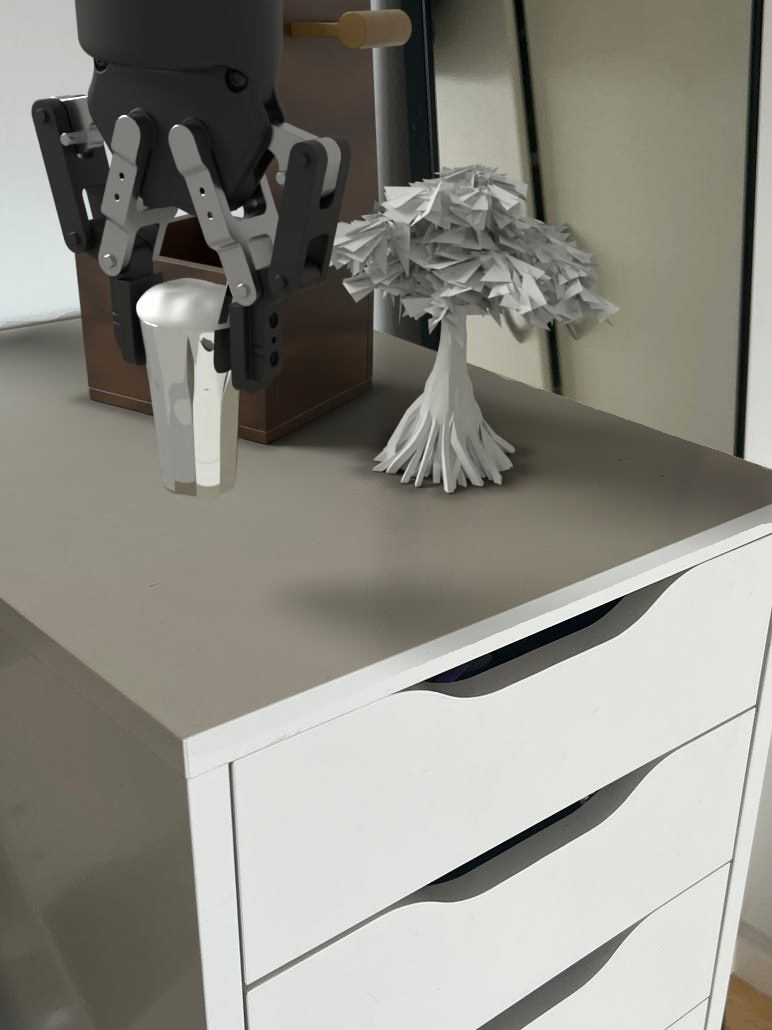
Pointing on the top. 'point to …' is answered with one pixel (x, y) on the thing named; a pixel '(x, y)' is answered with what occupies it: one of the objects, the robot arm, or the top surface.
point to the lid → (336, 85)
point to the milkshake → (191, 385)
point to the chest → (307, 340)
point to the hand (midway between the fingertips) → (198, 371)
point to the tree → (462, 301)
